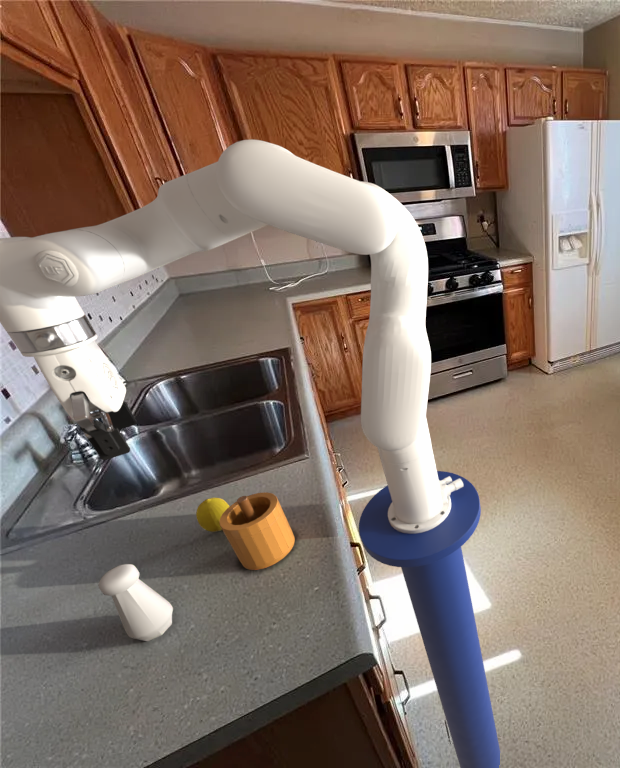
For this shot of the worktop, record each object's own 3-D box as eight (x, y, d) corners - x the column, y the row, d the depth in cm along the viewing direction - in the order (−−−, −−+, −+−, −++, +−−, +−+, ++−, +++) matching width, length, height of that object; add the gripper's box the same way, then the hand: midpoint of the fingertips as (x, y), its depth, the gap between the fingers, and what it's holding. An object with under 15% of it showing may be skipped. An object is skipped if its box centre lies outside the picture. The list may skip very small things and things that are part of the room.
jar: (290, 523, 84) (273, 485, 80) (299, 552, 77) (281, 512, 73) (239, 546, 80) (218, 507, 75) (243, 579, 73) (220, 539, 68)
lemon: (200, 541, 82) (182, 511, 78) (217, 520, 87) (201, 491, 83) (228, 539, 82) (211, 509, 78) (243, 518, 87) (228, 488, 83)
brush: (277, 533, 81) (255, 486, 75) (281, 548, 78) (257, 499, 72) (251, 545, 79) (226, 497, 73) (253, 561, 75) (227, 512, 70)
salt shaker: (175, 634, 65) (134, 579, 59) (130, 654, 62) (82, 599, 56) (180, 604, 69) (142, 550, 63) (138, 622, 67) (95, 568, 61)
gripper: (79, 345, 51) (147, 457, 59) (102, 314, 63) (155, 410, 71) (-8, 363, 47) (77, 480, 55) (35, 327, 60) (99, 426, 68)
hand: (121, 440), depth 63 cm, fingers open, 9 cm apart
